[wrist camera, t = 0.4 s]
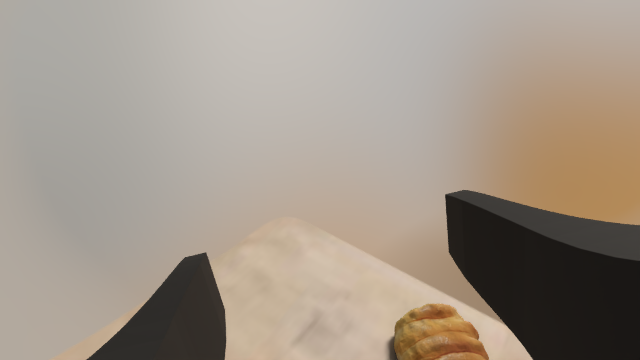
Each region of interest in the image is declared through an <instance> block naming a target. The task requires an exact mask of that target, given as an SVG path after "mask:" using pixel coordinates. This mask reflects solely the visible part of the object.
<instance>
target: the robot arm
mask: <svg viewBox="0 0 640 360" xmlns="http://www.w3.org/2000/svg"><path fill="white" fill-rule="evenodd" d="M445 198H446V214H447V230H448V244H449V253H450V255H451V256H452V258H453V260H454V261H455V263H456V265H457V266H458V268H459V269H460V271H461V272H462V274H463V275H464V277H465V278H466V279H467V280H468V282H469V283H470V284H471V285H472V286H473V288H474V289H475V290H476V291H477V292H478V293H479V295H480V296H481V297H482V298H483V299H484V300H485V301H486V303H487V304H488V305H489V306H490V307H491V308H492V309H493V311H494V312H495V313H496V314H497V315H498V316H499V317H500V319H502V321H503V322H504V323H505V324H506V325H507V327H508V328H509V329H510V330H511V331H512V332H513V333H514V335H515V336H516V337H517V338H518V340H519V341H520V342H521V343H522V345H523V346H524V347H525V349H526V350H527V352H528V353H529V354H530V356H531V357H532V359H533V360H640V225H629V224H620V223H611V222H604V221H597V220H591V219H585V218H579V217H574V216H568V215H564V214H559V213H555V212H550V211H546V210H542V209H538V208H533V207H530V206H526V205H522V204H519V203H515V202H511V201H507V200H504V199H500V198H497V197H493V196H490V195H486V194H482V193H478V192H473V191H468V190H462V191H458V192H454V193H449V194H446V195H445ZM225 349H226V322H225V309H224V306H223V303H222V300H221V296H220V293H219V290H218V287H217V284H216V281H215V278H214V275H213V272H212V269H211V266H210V263H209V260H208V257H207V254H206V253H202V254H198V255H194V256H189V257H185V258H184V259H183V260H182V261H181V262H180V263H179V264H178V265H177V267H176V268H175V269H174V270H173V272H172V273H171V274H170V275H169V276H168V278H167V279H166V280H165V281H164V282H163V284H162V285H161V286H160V287H159V288H158V289H157V291H156V292H155V293H154V294H153V295H152V297H151V298H150V299H149V300H148V301H147V302H146V303H145V304H144V305H143V306H142V308H141V309H140V310H139V311H138V312H137V313H136V314H135V315H134V316H133V317H132V318H131V319H130V320H129V321H128V323H127V324H126V325H125V326H124V327H123V328H122V329H121V330H120V331H118V332H117V333H116V334H115V335H114V336H113V337H112V338H111V339H110V340H109V341H108V342H107V343H105V344H104V345H103V346H102V347H101V348H100V349H99V350H98V351H96V352H95V353H94V354H93V355H92V356H91V357H89V358H88V359H87V360H225Z"/></svg>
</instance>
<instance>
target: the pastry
mask: <svg viewBox="0 0 640 360" xmlns="http://www.w3.org/2000/svg"><path fill="white" fill-rule="evenodd" d="M478 339H479V334H478V332H477V330H476V329H475V328H474V326H473V325H472V324H471V323H470V322H467V321H464V319H463V318H462V317H461V316H460V315H459V314H458V312H457V310H456V309H455V308H454V307H451V306H450V305H445V304H426V305H424V306H422V307H420V308H415V309H413V310H411V311H409V312H408V313H406V314H405V315H404V316H403V317H402V318H401V319H400V320H399V321H397V323H396V325H395V341H394V348H395V352H396V355H397V358H398V360H489V357H488V355H487V353H486V351H485V349H484V346H483V344H482V343H481V342H480V341H479V340H478Z"/></svg>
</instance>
